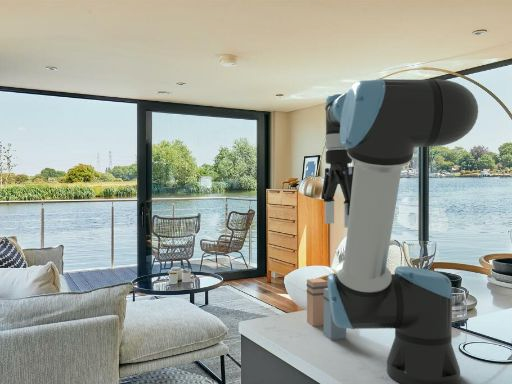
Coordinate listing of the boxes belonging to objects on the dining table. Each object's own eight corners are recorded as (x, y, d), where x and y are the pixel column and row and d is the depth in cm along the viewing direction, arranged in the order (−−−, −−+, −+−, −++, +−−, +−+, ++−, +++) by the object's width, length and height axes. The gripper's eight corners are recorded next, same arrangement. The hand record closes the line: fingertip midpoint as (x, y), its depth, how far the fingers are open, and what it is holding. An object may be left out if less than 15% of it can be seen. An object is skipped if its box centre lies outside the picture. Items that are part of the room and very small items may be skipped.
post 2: (338, 332, 123) (338, 287, 123) (346, 338, 119) (346, 291, 118) (323, 334, 122) (323, 288, 122) (330, 340, 117) (330, 292, 117)
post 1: (320, 320, 135) (320, 278, 135) (327, 324, 130) (327, 281, 130) (306, 321, 133) (306, 279, 133) (312, 326, 129) (312, 282, 129)
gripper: (372, 146, 114) (372, 229, 115) (332, 152, 137) (332, 221, 138) (346, 146, 112) (346, 229, 113) (310, 152, 135) (310, 222, 136)
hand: (338, 225), depth 125 cm, fingers open, 12 cm apart
